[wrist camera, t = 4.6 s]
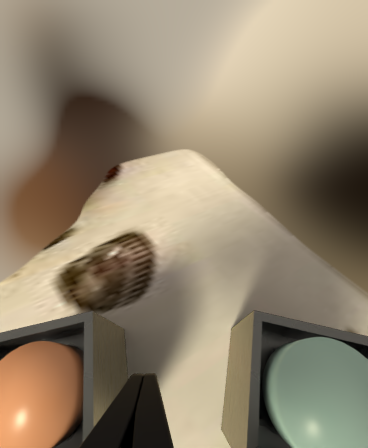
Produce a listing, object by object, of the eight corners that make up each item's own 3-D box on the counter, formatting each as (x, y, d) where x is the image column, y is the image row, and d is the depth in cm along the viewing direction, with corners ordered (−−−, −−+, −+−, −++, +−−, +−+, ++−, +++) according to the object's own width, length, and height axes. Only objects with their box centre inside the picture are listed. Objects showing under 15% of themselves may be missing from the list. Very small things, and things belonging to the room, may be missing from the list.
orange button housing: (131, 429, 16) (93, 473, 10) (33, 459, 16) (-83, 529, 9) (124, 329, 20) (92, 310, 13) (44, 349, 19) (-32, 340, 13)
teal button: (374, 480, 10) (423, 510, 8) (260, 445, 11) (278, 464, 9) (354, 353, 13) (386, 351, 11) (263, 331, 14) (277, 325, 11)
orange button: (94, 436, 12) (75, 450, 10) (-6, 466, 12) (-48, 488, 10) (93, 335, 15) (78, 330, 13) (12, 355, 14) (-17, 354, 12)
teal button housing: (320, 459, 15) (422, 531, 9) (221, 429, 16) (245, 473, 10) (311, 348, 19) (379, 338, 12) (231, 328, 20) (254, 310, 13)
